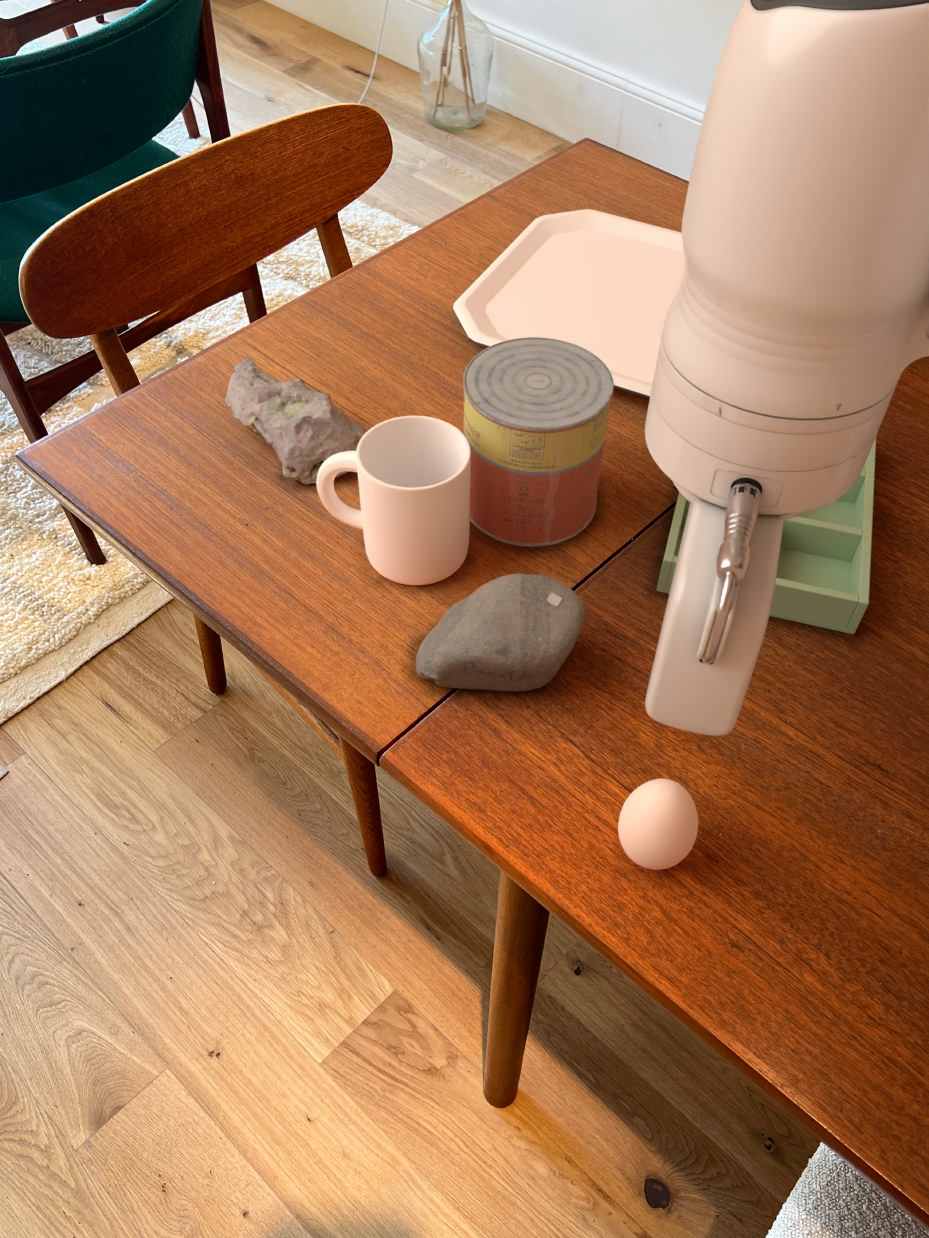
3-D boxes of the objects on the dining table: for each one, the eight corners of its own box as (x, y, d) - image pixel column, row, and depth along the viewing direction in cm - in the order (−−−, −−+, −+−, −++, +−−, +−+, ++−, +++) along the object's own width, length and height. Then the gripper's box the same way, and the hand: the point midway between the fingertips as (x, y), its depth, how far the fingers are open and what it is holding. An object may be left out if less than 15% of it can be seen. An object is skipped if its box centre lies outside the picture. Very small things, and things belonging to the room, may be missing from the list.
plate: (799, 281, 106) (804, 262, 104) (711, 434, 89) (716, 414, 88) (552, 216, 115) (553, 197, 113) (430, 344, 98) (429, 325, 96)
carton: (864, 451, 88) (877, 419, 85) (854, 634, 74) (869, 603, 72) (695, 419, 91) (703, 388, 88) (655, 591, 77) (663, 559, 74)
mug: (306, 568, 78) (289, 468, 70) (341, 499, 83) (330, 398, 75) (453, 599, 76) (453, 499, 68) (480, 526, 81) (483, 425, 73)
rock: (199, 428, 89) (184, 365, 84) (260, 391, 93) (249, 329, 88) (321, 507, 83) (312, 444, 78) (381, 464, 86) (376, 401, 81)
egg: (631, 896, 61) (649, 838, 55) (599, 831, 63) (614, 769, 58) (699, 873, 62) (724, 814, 56) (665, 810, 64) (686, 748, 59)
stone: (437, 597, 76) (500, 526, 68) (534, 653, 78) (606, 590, 70) (400, 688, 70) (464, 622, 63) (506, 747, 72) (580, 689, 65)
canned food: (526, 438, 89) (534, 320, 80) (623, 500, 83) (644, 382, 74) (434, 497, 84) (431, 379, 74) (531, 568, 78) (542, 449, 69)
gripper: (825, 617, 32) (735, 825, 43) (855, 290, 45) (780, 513, 56) (634, 575, 34) (592, 788, 44) (715, 268, 46) (667, 490, 57)
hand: (697, 632), depth 50 cm, fingers open, 8 cm apart
